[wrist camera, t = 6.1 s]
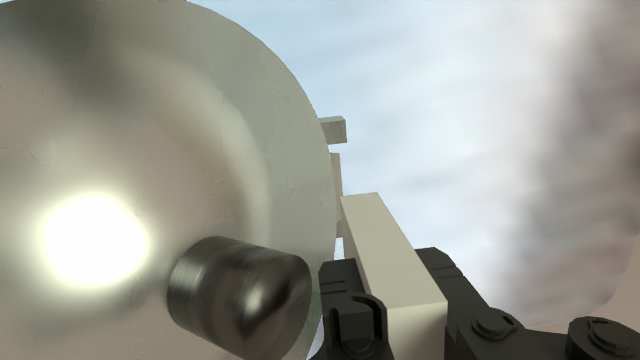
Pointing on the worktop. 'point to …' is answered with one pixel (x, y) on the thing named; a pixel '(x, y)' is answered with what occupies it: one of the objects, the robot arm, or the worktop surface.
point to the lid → (156, 187)
